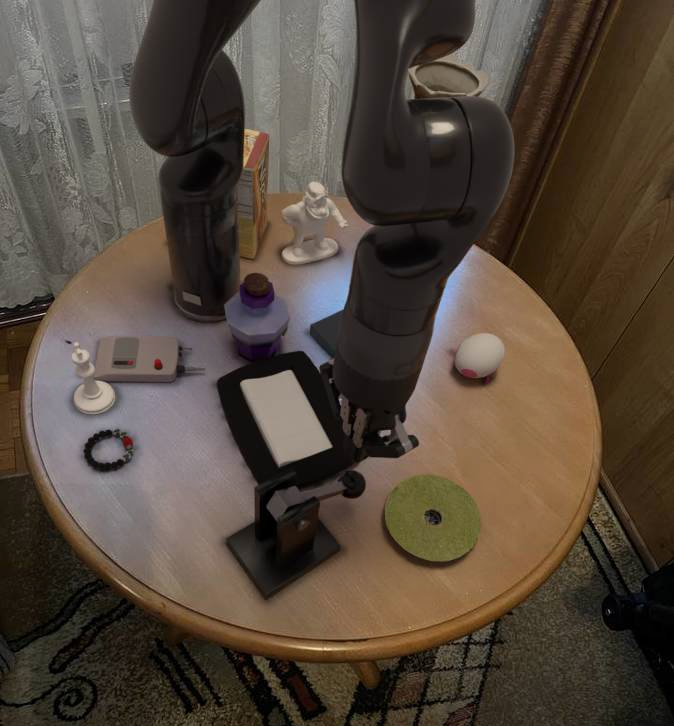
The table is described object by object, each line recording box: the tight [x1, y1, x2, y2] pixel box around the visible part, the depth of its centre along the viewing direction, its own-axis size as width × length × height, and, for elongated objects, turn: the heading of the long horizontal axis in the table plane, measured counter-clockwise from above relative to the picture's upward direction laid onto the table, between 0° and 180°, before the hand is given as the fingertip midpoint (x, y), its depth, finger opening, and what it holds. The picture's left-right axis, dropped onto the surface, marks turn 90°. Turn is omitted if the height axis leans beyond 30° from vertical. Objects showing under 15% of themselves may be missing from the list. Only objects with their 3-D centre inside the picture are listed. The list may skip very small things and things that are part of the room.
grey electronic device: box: [93, 334, 206, 383], centre depth 84 cm, size 7×16×3 cm, turn 94°
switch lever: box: [266, 469, 367, 521], centre depth 68 cm, size 13×3×3 cm, turn 127°
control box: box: [309, 309, 343, 359], centre depth 89 cm, size 12×9×4 cm
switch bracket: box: [225, 467, 342, 600], centre depth 68 cm, size 10×8×12 cm
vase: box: [373, 53, 490, 226], centre depth 88 cm, size 10×11×30 cm
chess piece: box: [71, 341, 116, 415], centre depth 77 cm, size 5×5×10 cm
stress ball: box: [452, 331, 506, 383], centre depth 89 cm, size 8×8×7 cm
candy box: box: [237, 128, 270, 260], centre depth 95 cm, size 9×4×15 cm, turn 171°
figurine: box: [280, 181, 349, 266], centre depth 96 cm, size 9×7×12 cm
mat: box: [384, 473, 482, 562], centre depth 76 cm, size 11×11×2 cm
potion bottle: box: [224, 272, 291, 363], centre depth 84 cm, size 9×9×12 cm
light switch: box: [216, 350, 358, 491], centre depth 81 cm, size 20×3×14 cm
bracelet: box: [83, 428, 135, 471], centre depth 77 cm, size 6×6×1 cm
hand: (355, 454), depth 68 cm, fingers closed
